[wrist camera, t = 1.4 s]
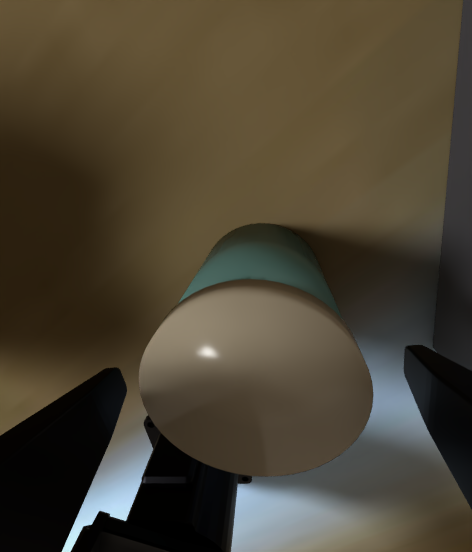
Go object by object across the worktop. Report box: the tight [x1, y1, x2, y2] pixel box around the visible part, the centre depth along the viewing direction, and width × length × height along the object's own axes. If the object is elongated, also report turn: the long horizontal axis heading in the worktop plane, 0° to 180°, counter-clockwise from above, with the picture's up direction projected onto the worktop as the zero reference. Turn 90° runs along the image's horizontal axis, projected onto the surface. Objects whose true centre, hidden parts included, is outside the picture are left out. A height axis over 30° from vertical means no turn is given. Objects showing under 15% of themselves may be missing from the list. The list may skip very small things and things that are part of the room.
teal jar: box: [139, 223, 373, 477], centre depth 11 cm, size 6×6×8 cm
